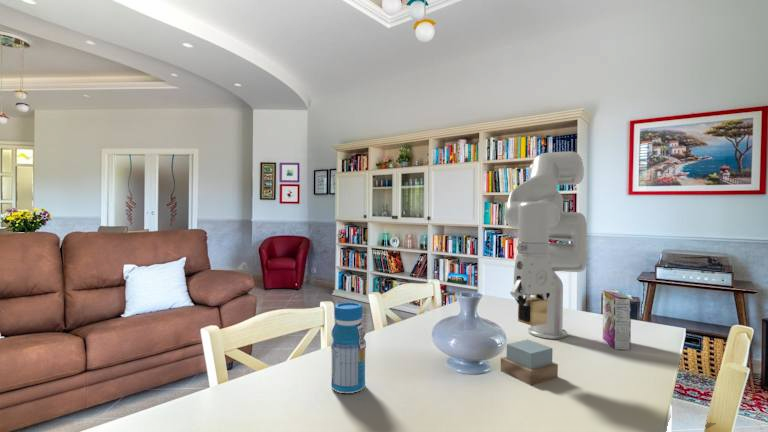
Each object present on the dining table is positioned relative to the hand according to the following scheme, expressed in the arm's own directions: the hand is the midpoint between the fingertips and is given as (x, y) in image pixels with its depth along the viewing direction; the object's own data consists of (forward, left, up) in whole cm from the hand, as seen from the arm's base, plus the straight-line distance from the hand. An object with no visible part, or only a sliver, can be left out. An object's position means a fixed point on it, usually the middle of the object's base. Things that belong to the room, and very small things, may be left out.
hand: (532, 318), depth 105 cm
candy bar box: (-4, +43, -15) cm, 46 cm away
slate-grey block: (-1, 0, -12) cm, 12 cm away
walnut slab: (-1, 0, -16) cm, 16 cm away
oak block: (0, 0, -1) cm, 1 cm away
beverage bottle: (-16, -45, -15) cm, 50 cm away
